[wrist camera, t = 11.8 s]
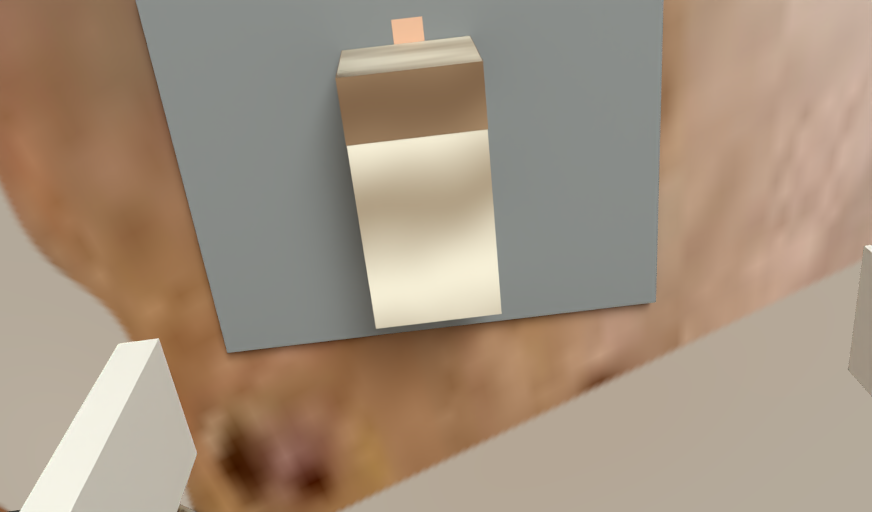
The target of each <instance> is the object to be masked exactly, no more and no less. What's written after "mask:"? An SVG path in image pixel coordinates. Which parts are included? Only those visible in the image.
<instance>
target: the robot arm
mask: <svg viewBox="0 0 872 512" xmlns="http://www.w3.org/2000/svg"><path fill="white" fill-rule="evenodd" d="M848 370H849V371H850V373H851V374H852V375H853V376H854V377H855V378H856V379H857V380H858V381H859V383H860V384H861V385H862V386H863V387H864V388H865V389H866V391H867V392H868V393H869V394H870V395H871V396H872V245H868V246H864V250H863V258H862V266H861V274H860V281H859V289H858V298H857V305H856V312H855V321H854V328H853V337H852V344H851V351H850V359H849V367H848ZM196 455H197V451H196V449H195V446H194V443H193V440H192V437H191V434H190V431H189V428H188V425H187V422H186V419H185V416H184V413H183V410H182V407H181V404H180V401H179V398H178V395H177V392H176V389H175V386H174V383H173V380H172V377H171V374H170V371H169V368H168V365H167V362H166V359H165V356H164V353H163V350H162V347H161V344H160V341H159V339H151V340H143V341H136V342H128V343H121V344H118V345H117V347H116V349H115V350H114V352H113V354H112V355H111V357H110V359H109V360H108V362H107V364H106V366H105V367H104V369H103V371H102V372H101V374H100V376H99V377H98V379H97V381H96V383H95V384H94V386H93V388H92V389H91V391H90V393H89V394H88V396H87V398H86V400H85V401H84V403H83V405H82V406H81V408H80V410H79V411H78V413H77V415H76V417H75V419H74V420H73V422H72V423H71V425H70V427H69V429H68V430H67V432H66V434H65V435H64V437H63V439H62V441H61V442H60V444H59V446H58V447H57V449H56V451H55V452H54V454H53V456H52V458H51V459H50V461H49V463H48V464H47V466H46V468H45V469H44V471H43V473H42V474H41V476H40V478H39V480H38V481H37V483H36V485H35V486H34V488H33V490H32V491H31V493H30V495H29V497H28V498H27V500H26V502H25V503H24V505H23V507H22V508H21V510H17V511H9V512H177V511H178V508H179V505H180V502H181V499H182V496H183V493H184V490H185V487H186V484H187V481H188V479H189V476H190V473H191V470H192V467H193V464H194V461H195V458H196Z"/></svg>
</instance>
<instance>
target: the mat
mask: <svg viewBox="0 0 872 512" xmlns="http://www.w3.org/2000/svg"><path fill="white" fill-rule="evenodd" d="M136 4H137V7H138V11H139V15H140V19H141V23H142V27H143V31H144V34H145V38H146V42H147V46H148V50H149V54H150V57H151V61H152V65H153V69H154V73H155V77H156V80H157V84H158V88H159V92H160V96H161V100H162V103H163V107H164V111H165V115H166V119H167V123H168V127H169V130H170V134H171V138H172V142H173V146H174V150H175V153H176V157H177V161H178V165H179V169H180V173H181V176H182V180H183V184H184V188H185V192H186V196H187V199H188V203H189V207H190V211H191V215H192V219H193V223H194V226H195V230H196V234H197V238H198V242H199V246H200V249H201V253H202V257H203V261H204V265H205V269H206V272H207V276H208V280H209V284H210V288H211V292H212V295H213V299H214V303H215V307H216V311H217V315H218V319H219V322H220V326H221V330H222V334H223V338H224V342H225V345H226V349H227V353H231V352H239V351H247V350H256V349H264V348H273V347H281V346H290V345H298V344H307V343H315V342H323V341H332V340H340V339H349V338H357V337H366V336H374V335H383V334H391V333H400V332H408V331H416V330H425V329H433V328H442V327H450V326H459V325H467V324H476V323H484V322H492V321H501V320H509V319H518V318H526V317H535V316H543V315H552V314H560V313H569V312H577V311H585V310H594V309H602V308H611V307H619V306H628V305H636V304H645V303H653V302H656V276H657V236H658V196H659V156H660V115H661V75H662V35H663V0H136ZM462 36H471V38H472V40H473V42H474V44H475V46H476V48H477V50H478V52H479V54H480V56H481V58H482V60H483V66H484V80H485V93H486V106H487V119H488V141H489V154H490V167H491V180H492V193H493V206H494V219H495V233H496V246H497V259H498V272H499V285H500V298H501V311H502V314H496V315H488V316H479V317H471V318H463V319H454V320H446V321H437V322H429V323H421V324H412V325H404V326H395V327H387V328H379V329H376V325H375V319H374V313H373V307H372V300H371V294H370V288H369V282H368V275H367V269H366V263H365V257H364V250H363V244H362V238H361V232H360V225H359V219H358V213H357V207H356V200H355V194H354V188H353V182H352V175H351V169H350V163H349V157H348V150H347V146H346V142H345V136H344V129H343V123H342V117H341V111H340V104H339V98H338V92H337V86H336V79H335V78H336V73H337V69H338V65H339V60H340V56H341V52H342V50H351V49H359V48H368V47H376V46H385V45H394V44H402V43H411V42H419V41H428V40H436V39H445V38H454V37H462Z"/></svg>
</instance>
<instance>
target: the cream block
mask: <svg viewBox="0 0 872 512" xmlns="http://www.w3.org/2000/svg"><path fill="white" fill-rule="evenodd" d="M335 79H336V86H337V92H338V98H339V104H340V111H341V117H342V123H343V129H344V136H345V142H346V146H347V150H348V157H349V163H350V169H351V175H352V182H353V188H354V194H355V200H356V207H357V213H358V219H359V225H360V232H361V238H362V244H363V250H364V257H365V263H366V269H367V275H368V282H369V288H370V294H371V300H372V307H373V313H374V319H375V325H376V329H379V328H387V327H395V326H404V325H412V324H421V323H429V322H437V321H446V320H454V319H463V318H471V317H479V316H488V315H496V314H502V311H501V298H500V285H499V272H498V259H497V246H496V233H495V219H494V206H493V193H492V180H491V167H490V154H489V141H488V119H487V106H486V93H485V80H484V66H483V60H482V58H481V56H480V54H479V52H478V50H477V48H476V46H475V44H474V42H473V40H472V38H471V36H462V37H454V38H445V39H436V40H428V41H419V42H411V43H402V44H394V45H385V46H376V47H368V48H359V49H351V50H342V52H341V56H340V60H339V65H338V69H337V73H336V78H335Z"/></svg>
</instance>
